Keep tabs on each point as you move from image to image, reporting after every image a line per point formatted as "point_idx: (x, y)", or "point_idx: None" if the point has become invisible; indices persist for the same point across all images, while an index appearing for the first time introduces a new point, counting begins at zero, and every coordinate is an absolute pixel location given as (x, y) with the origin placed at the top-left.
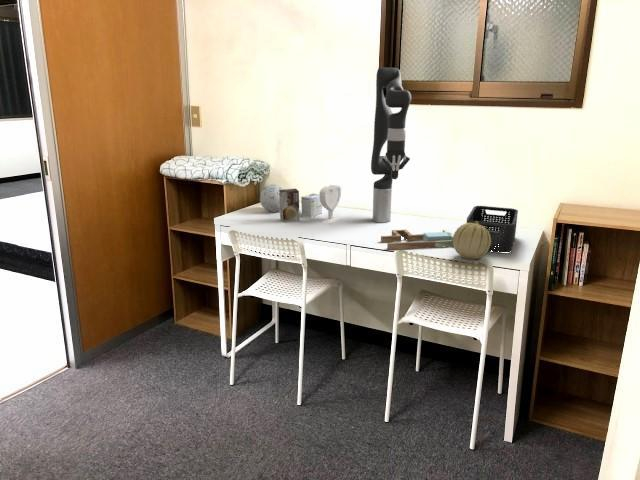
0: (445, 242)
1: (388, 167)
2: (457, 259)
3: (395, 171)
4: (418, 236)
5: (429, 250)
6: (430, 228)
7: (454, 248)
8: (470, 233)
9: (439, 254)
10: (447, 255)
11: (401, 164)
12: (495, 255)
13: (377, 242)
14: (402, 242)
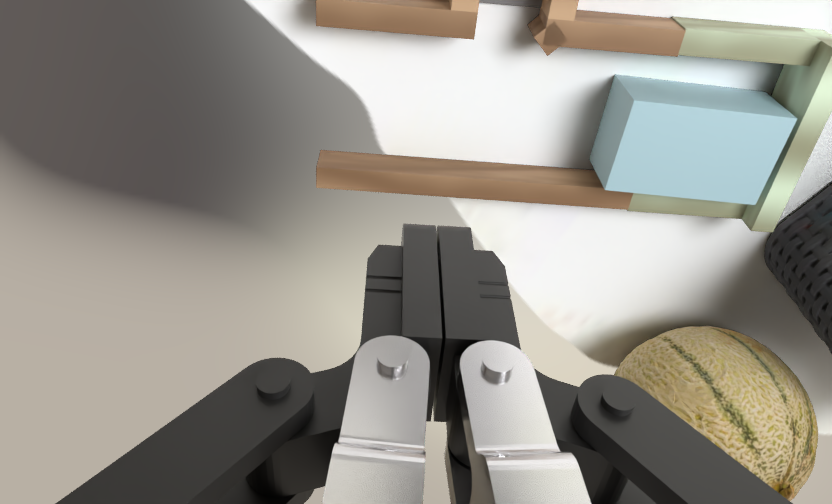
0: (689, 211)
1: (241, 498)
2: (602, 360)
3: (434, 409)
4: (608, 48)
5: (552, 230)
6: None
7: (621, 364)
8: None
9: (565, 292)
10: (594, 311)
11: (666, 483)
12: (808, 353)
13: (290, 3)
14: (418, 177)
